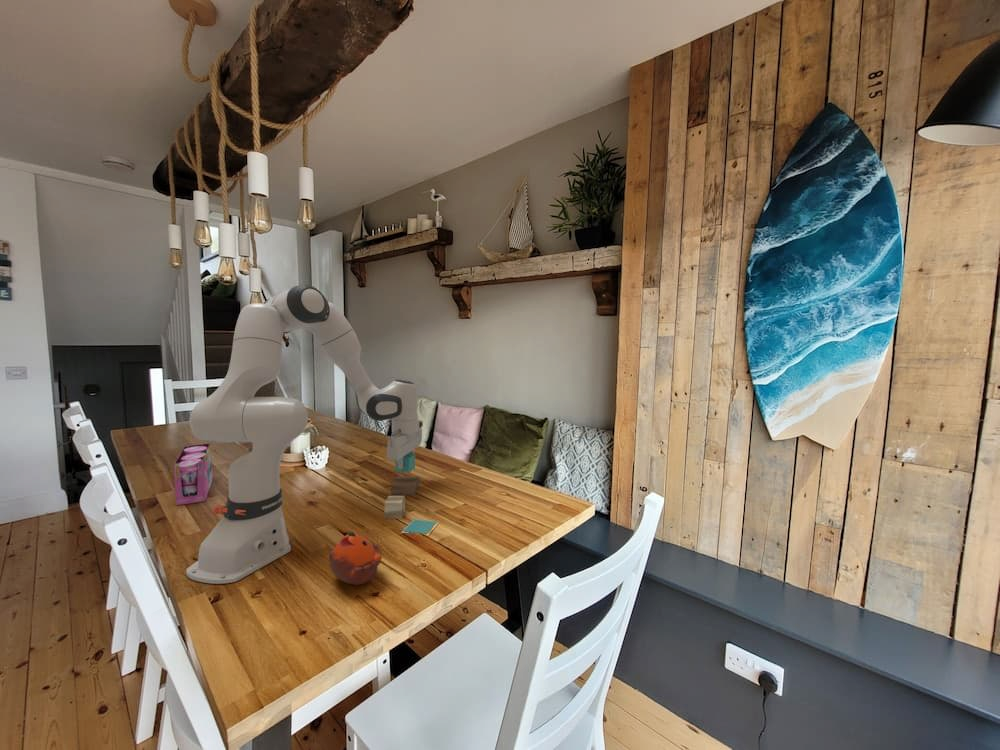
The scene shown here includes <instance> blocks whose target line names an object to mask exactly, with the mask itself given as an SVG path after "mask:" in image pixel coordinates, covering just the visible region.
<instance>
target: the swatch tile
mask: <svg viewBox="0 0 1000 750" xmlns="http://www.w3.org/2000/svg"><path fill="white" fill-rule="evenodd" d="M413 519H414V520H412V521H410V523H408V525H407V526H406V527H404V529H403V530H402V531H401V534H402V533H409V532H411V533H422V534H423V533H424V534H427V533H428V532H429V531H430V530H431V529H432V528H433V526H434V525H435V524H436V523H437V522H438V521H432V520H431V521H430V520H422V519H415V518H413Z"/></svg>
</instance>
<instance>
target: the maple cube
mask: <svg viewBox="0 0 1000 750" xmlns="http://www.w3.org/2000/svg"><path fill="white" fill-rule="evenodd" d="M405 496H406V495H388V496H387V497H386V499H385V502H384V519H402V518H403V517H402V516H404V514H405V512H406V505H405V504H406V498H405ZM404 511H405V512H404Z"/></svg>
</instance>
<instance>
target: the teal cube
mask: <svg viewBox="0 0 1000 750" xmlns="http://www.w3.org/2000/svg"><path fill="white" fill-rule="evenodd" d="M394 462H395V463H394V464H395V467H394V468H395V472H398V473H406V474H409V473H411V472H412V471H414V470H415V469H416V453H413V454H406V455H405V456H404V457H403V463H404V468H403V469H398V464H397V462H396V461H394Z"/></svg>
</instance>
